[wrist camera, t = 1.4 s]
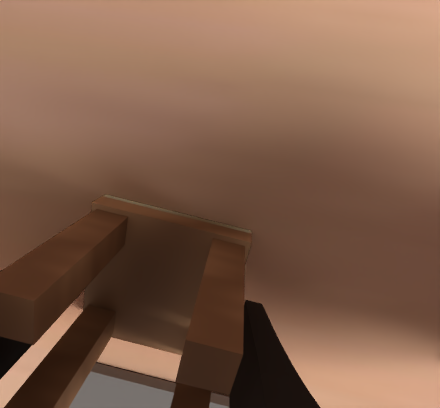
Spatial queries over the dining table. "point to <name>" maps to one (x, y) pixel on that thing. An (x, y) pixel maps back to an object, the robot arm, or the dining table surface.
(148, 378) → the mat
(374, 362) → the dining table surface
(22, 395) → the stool
